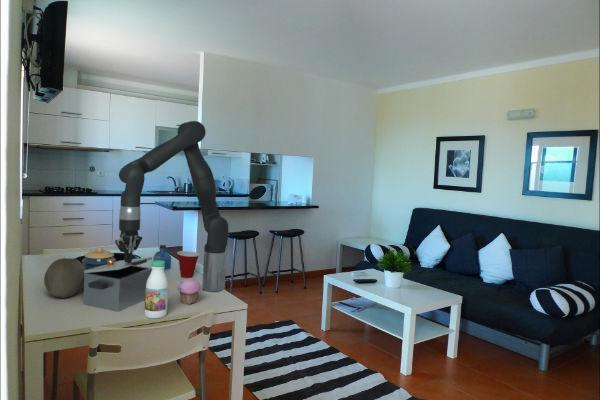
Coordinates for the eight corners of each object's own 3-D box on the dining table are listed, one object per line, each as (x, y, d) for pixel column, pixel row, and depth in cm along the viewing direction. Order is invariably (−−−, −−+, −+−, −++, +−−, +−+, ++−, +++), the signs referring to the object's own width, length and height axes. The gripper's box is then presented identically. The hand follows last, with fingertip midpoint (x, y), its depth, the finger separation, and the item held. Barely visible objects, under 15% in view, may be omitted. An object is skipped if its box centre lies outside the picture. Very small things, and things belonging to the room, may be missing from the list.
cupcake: (189, 297, 171) (190, 274, 171) (204, 302, 167) (205, 278, 166) (172, 303, 164) (173, 278, 163) (188, 308, 159) (189, 283, 159)
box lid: (158, 258, 167) (157, 251, 167) (125, 268, 149) (124, 260, 149) (120, 262, 172) (119, 255, 172) (84, 273, 154) (83, 265, 154)
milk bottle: (147, 311, 154) (150, 258, 152) (169, 311, 154) (171, 259, 153) (141, 318, 146) (144, 263, 144) (163, 319, 147) (166, 264, 145)
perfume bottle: (170, 268, 214) (171, 245, 213) (160, 270, 209) (161, 247, 208) (162, 266, 217) (163, 244, 216) (152, 268, 212) (154, 245, 211)
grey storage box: (151, 297, 169) (152, 268, 168) (112, 314, 148) (113, 281, 147) (119, 290, 173) (120, 262, 172) (76, 306, 152) (77, 274, 151)
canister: (119, 288, 176) (121, 248, 175) (87, 294, 167) (89, 251, 165) (107, 281, 185) (108, 242, 184) (76, 286, 176) (77, 245, 174)
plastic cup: (202, 278, 201) (203, 254, 200) (180, 280, 194) (182, 255, 193) (193, 272, 210) (194, 249, 209) (172, 274, 203) (173, 250, 202)
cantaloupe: (80, 301, 157) (82, 263, 156) (38, 302, 153) (39, 263, 152) (88, 290, 171) (89, 255, 170) (50, 291, 167) (51, 254, 166)
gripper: (126, 220, 151) (124, 267, 152) (149, 217, 163) (147, 260, 165) (109, 218, 153) (107, 264, 154) (133, 215, 166) (131, 257, 167)
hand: (128, 262), depth 159 cm, fingers closed
